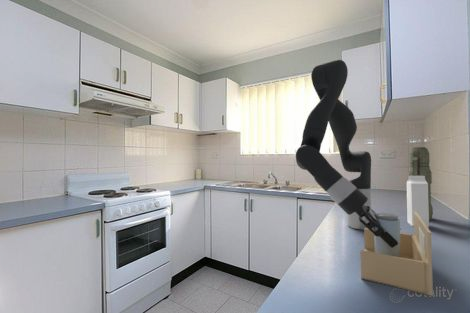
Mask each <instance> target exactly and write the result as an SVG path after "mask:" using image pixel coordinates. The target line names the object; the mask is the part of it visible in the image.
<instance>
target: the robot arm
mask: <svg viewBox="0 0 470 313" xmlns="http://www.w3.org/2000/svg"><path fill="white" fill-rule="evenodd" d="M348 69H349V68H348V66H347V64H346V62H345V61H344V60H342V59H337V60H332V61H329V62H324V63H321V64H317V65H315V66H314V67H313V68H312V70H311V74H310V77H311V83H312V85H313V86H312V87H313V88H314V90H315V93H316V95H317V97H318V98H319V102H317V104H316V105H315V106H314V108H313V109H312V110H311V111H310V112H309V114H308V116H307V119H306V121H305V125H304V128H303V131H302V137H301V138H302V139H301V143H300V146H299V147H298V148H297V150H296V151H295V162H296V164H297V166H298V167H299V168H300V169H301V170H304V171H307V172H308V173H309V174H310V175H311V176H312V177H313V178H314V180H315V182H316V183H317V185H319V186H320V187H321V188H322V189H323V190H324V191H325V192H326V194H327V195H328V196H329V198H331V199H332V201H333V202H334V203H336V204H337V205H338V206H339V207H340V208H341V210H343V211H344V212H345V213H346V214H347V226H348V227H349V228H352V229H355V230H363V231H364V228H367V229H369V230H370V231H371V232H372V233H373V234H374V235H375V236H377V237H378V236H379V237H381V238H382V239H383V240H384V241H385V242H386V243H387V244H388V245H389V246H390V247H392V248H393V247H395V246H396V245H398V242H397V240H395V239H394V238H393V237H392V236H391V235H390V234H389V233H388V232H387V231H386V229H385V228H383V227H382V226H381V222H380V221H379V220H378V218H377V217H376V213H377V212H375V211H374V209H372V192H371V190H372V189H371V187H372V186H371V185H372V179H371V178H372V174H371V173H372V156H371V153H370V152H369V151H351V150H350V144H351V142H352V141H353V138H354V136H356V133H357V130H358V127H357V126H358V125H357V122H356V118H355V115H354V113H353V111H352V110H351V109H350V107H348V106H347V105H345V104H344V102H342V101H341V100H339V98H340V96H341V95H342V91H343V89H344V87H345V85H346V82H347V79H348V75H349V74H348ZM328 124H329V127H330V130H331V131H332V134H333V137H334V139H335V142H336V145H337V148H338V152H339V155H340V160H341V164H342V167H343V169H344V170H345V171H346V172H348V173H360V174H359V176H358V177H356V178H354V179H349V180H348V179H347V178H345V177H344V176H343V175H342V174H341V173H340V172H339V171H338V170H336V168H334V167H333V166H332V165H331V164H330V163H329V161H328V160H327V159H326V158H325V156H324V155H323V154H322V153H321V152H320V151H321V147H322V143H323V140H324V139H325V135H326V132H327V128H328ZM376 227H378V228H379V229H378V230H377V231H376V229H375V228H376Z"/></svg>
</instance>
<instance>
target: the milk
mask: <svg viewBox="0 0 470 313" xmlns="http://www.w3.org/2000/svg"><path fill="white" fill-rule="evenodd" d="M406 212H407V213H406V214H407V215H406V216H407V217H406V218H407V219H406V220H407V221H406V222H407V224H409V225H410V226H411V227H414V212H417V214H418V215H419V216H420V218H421V219H422V220H423V222H424V223H425V225H426V226H427V227H428V229H429V228H430V220H429V205H428V183H427V182H426V180H425V176H409V175H408V179H407V181H406Z"/></svg>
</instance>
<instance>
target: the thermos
mask: <svg viewBox="0 0 470 313" xmlns="http://www.w3.org/2000/svg"><path fill="white" fill-rule="evenodd" d="M407 173H408V177H409V176H425V180H426V182H427V183H428V205H429V221H433V214H434V213H433V212H434V210H433V209H434V208H433V205H432V192H431V190H432V187H431V185H432V182H433V181H432V180H433V179H432V178H433V176H432V174H433V173H432V170H431V167H430V152H429V149H428V148H427V147H423V146H422V147H421V146H420V147H412V148H411V149H410V151H409V170H408V172H407Z"/></svg>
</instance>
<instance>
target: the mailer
mask: <svg viewBox="0 0 470 313" xmlns="http://www.w3.org/2000/svg"><path fill="white" fill-rule="evenodd" d="M363 231H364V232H363V233H364V234H363V235H364V236H363V237H364V250H360V276H361V278H362V279H361V278H360V279H361V280H363V279H366V280H365V281H368V280H370V281H369V282H372V281H374V283H376V282H379V283H378V284H380V283H383V284H382V285H384V284H387V285H386V286H389V285H391V286H390V287H393V286H395V287H394V288H397V287H398V289H401V288H402V289H401V290H406V291H410V292H415V293H419V294H422V295H428V296H431V297H433V296H434V294H433V292H434V289H433V287H434V286H433V283H434V282H433V281H434V280H433V254H432V253H433V252H432V251H433V250H432V248H433V247H432V246H433V245H432V231H431V230H430V229H429V228H428V227H427V226H426V225H425V223H424V222H423V220H422V219H421V218H420V216H419V215H418V214H417V212H414V226H413V231H414V232H413V234H411V233H403V232H400V257H396V256H390V255H385V254H379V253H375V247H374V234H373V233H372V232H371V231H370V230H369V229H367V228H364V230H363Z"/></svg>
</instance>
